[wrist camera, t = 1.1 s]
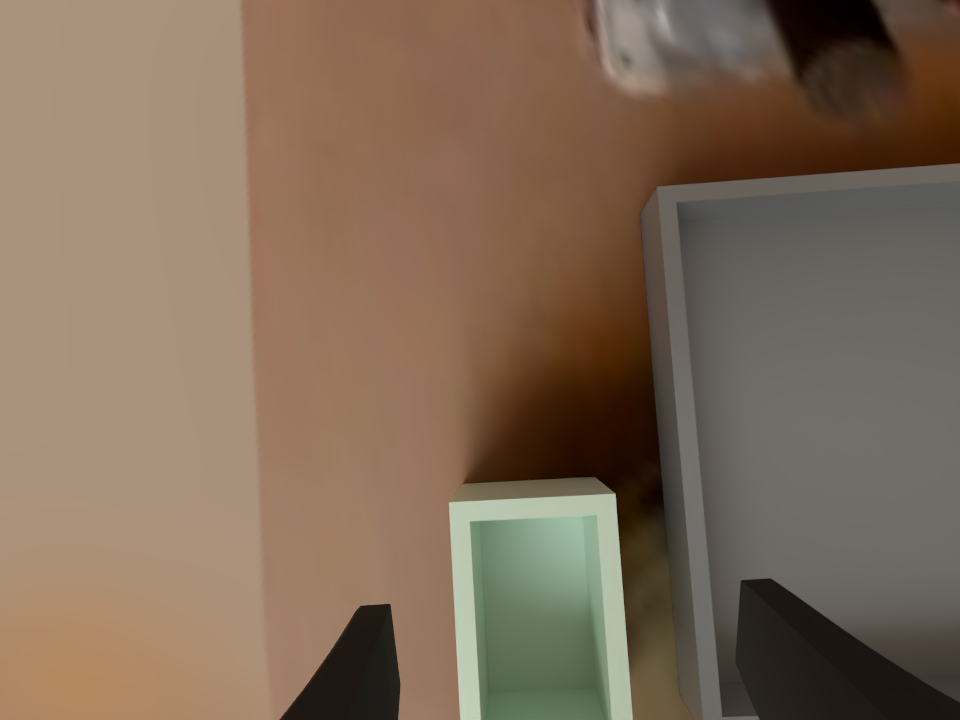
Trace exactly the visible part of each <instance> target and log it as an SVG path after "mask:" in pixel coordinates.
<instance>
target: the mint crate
mask: <svg viewBox="0 0 960 720" xmlns="http://www.w3.org/2000/svg"><path fill="white" fill-rule="evenodd" d="M449 514H450V533H451V551H452V570H453V589H454V608H455V627H456V646H457V665H458V684H459V703H460V720H633V716H632V703H631V690H630V677H629V663H628V650H627V637H626V624H625V611H624V598H623V585H622V572H621V559H620V546H619V533H618V520H617V507H616V494H615V493H614V492H613V491H612V490H610V489H609V488H608V487H607V486H605V485H604V484H603V483H602V482H600V481H599V480H598V479H597V478H595V477H582V478H563V479H544V480H525V481H506V482H487V483H468V484H462V486H461V487H460V488H459V490H458V491H457V492H456V494H455V495H454V496H453V497H452V499H451V500H450V501H449Z"/></svg>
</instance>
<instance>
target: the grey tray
mask: <svg viewBox="0 0 960 720" xmlns="http://www.w3.org/2000/svg"><path fill="white" fill-rule="evenodd" d="M640 223H641V235H642V247H643V259H644V271H645V283H646V295H647V307H648V319H649V331H650V343H651V355H652V367H653V379H654V391H655V403H656V415H657V427H658V439H659V451H660V463H661V475H662V487H663V499H664V511H665V523H666V535H667V547H668V559H669V571H670V583H671V595H672V607H673V620H674V632H675V644H676V656H677V668H678V680H679V692H680V696H681V698H682V700H683V701H684V703H685V705H686V707H687V708H688V710H689V712H690V713H691V715H692V717H693V719H694V720H760V719H759V717H758V715H757V714H756V712H755V709H754V707H753V705H752V702H751V700H750V698H749V695H748V693H747V690H746V688H745V686H744V683H743V680H742V678H741V675H740V673H739V670H738V668H737V665H736V663H735V656H736V642H737V627H738V613H739V598H740V583H741V580H750V579H765V578H771V579H773V580H774V581H776V582H777V583H779V584H780V585H782V586H783V587H784V588H786V589H787V590H789V591H790V592H792V593H793V594H794V595H796V596H797V597H799V598H800V599H801V600H803V601H804V602H806V603H807V604H808V605H810V606H811V607H813V608H814V609H815V610H817V611H818V612H820V613H821V614H822V615H824V616H825V617H827V618H828V619H829V620H831V621H832V622H834V623H835V624H836V625H838V626H839V627H841V628H842V629H844V630H845V631H846V632H848V633H849V634H851V635H852V636H854V637H855V638H857V639H858V640H860V641H861V642H862V643H864V644H865V645H867V646H868V647H870V648H871V649H873V650H874V651H876V652H877V653H879V654H881V655H882V656H884V657H885V658H887V659H888V660H890V661H891V662H893V663H894V664H896V665H898V666H899V667H901V668H902V669H904V670H906V671H907V672H909V673H910V674H912V675H914V676H915V677H917V678H918V679H920V680H922V681H923V682H925V683H927V684H928V685H930V686H932V687H933V688H935V689H937V690H939V691H940V692H942V693H944V694H945V695H947V696H949V697H951V698H953V699H955V700H956V701H958V702H960V163H959V164H946V165H933V166H920V167H907V168H894V169H880V170H867V171H854V172H841V173H828V174H815V175H802V176H789V177H776V178H763V179H750V180H737V181H724V182H710V183H697V184H684V185H671V186H658V187H657V188H656V189H655V191H654V192H653V194H652V196H651V197H650V199H649V200H648V202H647V204H646V205H645V207H644V208H643V210H642V212H641V213H640Z"/></svg>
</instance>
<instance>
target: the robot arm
mask: <svg viewBox="0 0 960 720" xmlns="http://www.w3.org/2000/svg"><path fill="white" fill-rule="evenodd" d="M735 663H736V665H737V668H738V670H739V673H740V675H741V678H742V680H743V683H744V686H745V688H746V690H747V693H748V695H749V698H750V700H751V702H752V705H753V707H754V709H755V712H756V714H757V715H758V717H759V719H760V720H960V702H958V701H956V700H955V699H953V698H951V697H949V696H947V695H945V694H944V693H942V692H940V691H939V690H937V689H935V688H933V687H932V686H930V685H928V684H927V683H925V682H923V681H922V680H920V679H918V678H917V677H915V676H914V675H912V674H910V673H909V672H907V671H906V670H904V669H902V668H901V667H899V666H898V665H896V664H894V663H893V662H891V661H890V660H888V659H887V658H885V657H884V656H882V655H881V654H879V653H877V652H876V651H874V650H873V649H871V648H870V647H868V646H867V645H865V644H864V643H862V642H861V641H860V640H858V639H857V638H855V637H854V636H852V635H851V634H849V633H848V632H846V631H845V630H844V629H842V628H841V627H839V626H838V625H836V624H835V623H834V622H832V621H831V620H829V619H828V618H827V617H825V616H824V615H822V614H821V613H820V612H818V611H817V610H815V609H814V608H813V607H811V606H810V605H808V604H807V603H806V602H804V601H803V600H801V599H800V598H799V597H797V596H796V595H794V594H793V593H792V592H790V591H789V590H787V589H786V588H784V587H783V586H782V585H780V584H779V583H777V582H776V581H774V580H773V579H771V578H765V579H750V580H741V583H740V598H739V613H738V627H737V642H736V656H735ZM399 697H400V678H399V670H398V662H397V654H396V646H395V638H394V630H393V622H392V614H391V606H390V604H382V605H367V606H360V607H359V608H358V609H357V610H356V612H355V613H354V615H353V617H352V618H351V620H350V622H349V623H348V625H347V626H346V628H345V630H344V631H343V633H342V634H341V636H340V637H339V639H338V641H337V642H336V644H335V645H334V647H333V648H332V650H331V651H330V653H329V654H328V656H327V657H326V659H325V660H324V661H323V663H322V664H321V666H320V667H319V668H318V670H317V671H316V673H315V674H314V675H313V677H312V678H311V680H310V681H309V683H308V684H307V685H306V687H305V688H304V689H303V691H302V692H301V693H300V694H299V696H298V697H297V698H296V700H295V701H294V702H293V703H292V705H291V706H290V707H289V708H288V710H287V711H286V712H285V714H284V715H283V716H282V717H281V719H280V720H398V712H399Z"/></svg>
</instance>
